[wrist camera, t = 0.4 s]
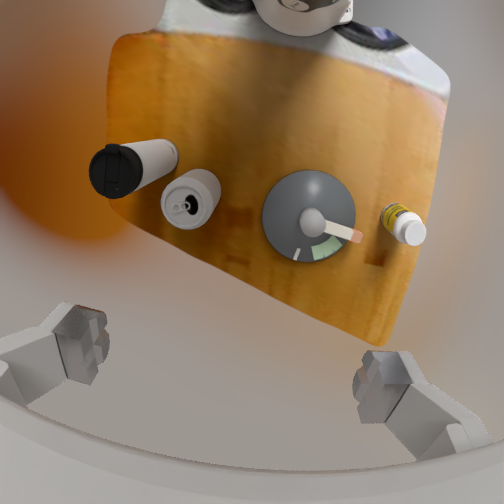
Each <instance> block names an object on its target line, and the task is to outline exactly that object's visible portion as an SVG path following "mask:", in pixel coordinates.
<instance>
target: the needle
mask: <svg viewBox="0 0 504 504" xmlns="http://www.w3.org/2000/svg"><path fill="white" fill-rule="evenodd" d="M298 220H299V224H300V226H301V229H302V231H303V233H304V234H305V235H307V236H309V237H317V236H319V235H321V234H322V233H323V232H326V233H329V234H332V235H335V236H338V237H341V238H344V239H347V240H350V241H352V242H355V243H358V244H360V242H361V239H362V237H363V234H362V233H361V232H360V231H358V230H355V229H352V228H348V227H346V226H343V225H340V224H337V223H334V222H331V221H328V220H325V219H324V217H323V216H322V214H321V213H320V211H319V210H318V209H316V208H314V207H307V208H305V209H303V210H302V211H301V212H300V214H299V218H298Z"/></svg>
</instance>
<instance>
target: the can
mask: <svg viewBox="0 0 504 504" xmlns="http://www.w3.org/2000/svg"><path fill="white" fill-rule="evenodd" d="M220 197H221V186H220V182H219V180H218V179H217V178H216V176H215V175H214V174H212V173H211V172H210V171H207V170H204V169H194V170H191V171H188V172H187V173H185V174H183V175H182V176H180V177H178V178H177V179H175V180H174V181H172V182H171V183H170V184H168V185H167V187H166V188H165V190H164V191H163V194H162V197H161V209H162V211H163V214H164V216H165V217H166V219H167V220H168V221H169V222H170V223H171V224H172V225H174V226H175V227H178V228H181V229H187V230H191V229H195V228H198V227H200V226H201V225H203V224H204V223H206V221H207V220H208V219H209V217H210V216H211V214H212V212H213V211H214V209H215V207H216V205H217V204H218V202H219V199H220Z"/></svg>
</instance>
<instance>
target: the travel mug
mask: <svg viewBox="0 0 504 504" xmlns="http://www.w3.org/2000/svg"><path fill="white" fill-rule="evenodd" d="M178 158H179V155H178V151H177V148H176V146H175V145H174V144H173V143H172V142H170V141H168V140H166V139H156V140H149V141H142V142H136V143H129V144H123V145H118V144H107V145H106V146H105V148H104V149H102V150H100V151H99V152H97V153H96V154H95V155H94V156H93V158H92V160H91V163H90V166H89V177H90V181H91V184H92V186H93V187H94V189H95V190H96V191H97V192H98V193H99V194H101V195H102V196H105V197H106V198H110V199H117V198H122V197H124V196H126V195H128V194H131V193H132V192H134V191H136V190H138V189H140V188H142V187H143V186H145V185H147V184H149V183H151V182H153V181H155V180H157V179H158V178H160V177H162V176H164V175H166V174H168V173H170V172H171V171H172V170H174V168H175V167H176V165H177V163H178Z"/></svg>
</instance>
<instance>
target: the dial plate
mask: <svg viewBox="0 0 504 504" xmlns="http://www.w3.org/2000/svg"><path fill="white" fill-rule="evenodd" d="M307 207H314V208H316V209H318V210H319V211H320V213H321V214H322V216H323V217H324V219H325V220H328V221H331V222H334V223H337V224H340V225H343V226H346V227H348V228H352V229H353V228H354V224H355V206H354V202H353V199H352V197H351V195H350V193H349V191H348V190H347V189H346V187H345V186H344V185H343V184H342V183H341V182H340V181H338V180H337V179H336V178H334V177H333V176H331V175H329V174H327V173H324V172H321V171H316V170H303V171H298V172H294V173H292V174H289V175H287V176H285V177H284V178H282V179H281V180H280V181H278V182H277V183H276V184H275V185H274V186H273V188H272V189H271V190H270V192H269V193H268V195H267V197H266V200H265V202H264V206H263V212H262V222H263V228H264V231H265V234H266V236H267V239H268V240H269V242H270V243H271V245H272V246H273V247H274V248H275V249H276V250H277V251H278V252H279V253H281V254H282V255H284V256H286V257H288V258H290V259H293V260H296V261H301V262H314V261H319V260H323V259H325V258H328V257H330V256H332V255H333V254H335V253H336V252H338V251H339V250H340V249H341V248H342V247H343V246H344V245H345V244H346V242H347V241H348V240H347V239H344V238H341V237H338V236H335V235H332V234H329V233H326V232H323V233H322V234H321V235H319V236H317V237H309V236H307V235H305V234H304V233H303V231H302V229H301V226H300V224H299V220H298V218H299V214H300V212H301V211H302V210H303V209H305V208H307Z"/></svg>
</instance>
